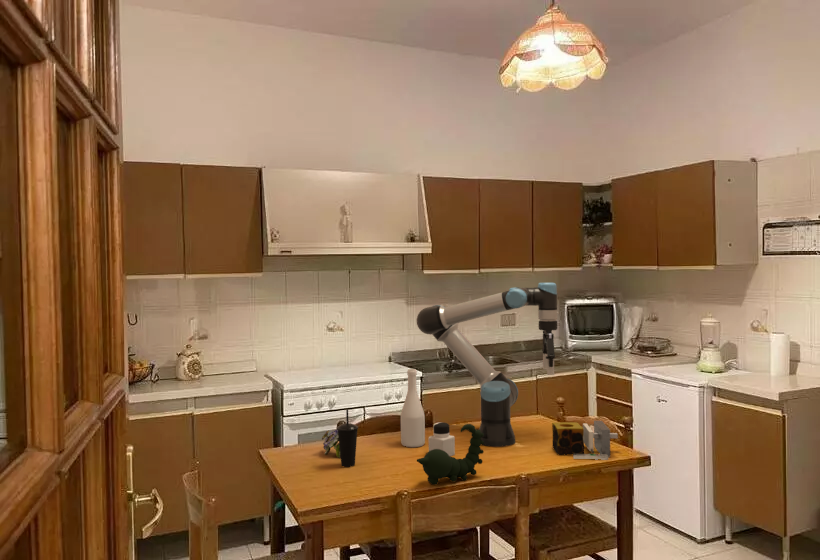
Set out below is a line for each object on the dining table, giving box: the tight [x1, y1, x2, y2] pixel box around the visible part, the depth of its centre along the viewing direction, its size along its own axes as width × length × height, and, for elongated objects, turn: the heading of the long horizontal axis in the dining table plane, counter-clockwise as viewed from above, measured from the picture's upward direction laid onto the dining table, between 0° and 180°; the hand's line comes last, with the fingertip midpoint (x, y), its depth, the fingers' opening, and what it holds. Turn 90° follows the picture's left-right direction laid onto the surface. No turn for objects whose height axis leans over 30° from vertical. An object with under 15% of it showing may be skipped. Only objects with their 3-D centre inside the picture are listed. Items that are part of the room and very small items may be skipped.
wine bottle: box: [400, 368, 426, 448], centre depth 252 cm, size 10×10×30 cm
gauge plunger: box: [582, 423, 619, 454], centre depth 237 cm, size 12×16×7 cm
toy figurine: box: [416, 423, 484, 486], centre depth 208 cm, size 9×19×25 cm
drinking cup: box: [336, 408, 359, 468], centre depth 227 cm, size 8×8×20 cm
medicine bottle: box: [428, 421, 456, 457], centre depth 237 cm, size 7×7×12 cm
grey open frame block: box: [572, 420, 611, 461], centre depth 237 cm, size 14×18×10 cm
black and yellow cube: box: [551, 421, 585, 456], centre depth 239 cm, size 10×10×10 cm
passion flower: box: [321, 429, 341, 459], centre depth 241 cm, size 11×11×12 cm
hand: (548, 372), depth 259 cm, fingers open, 13 cm apart
